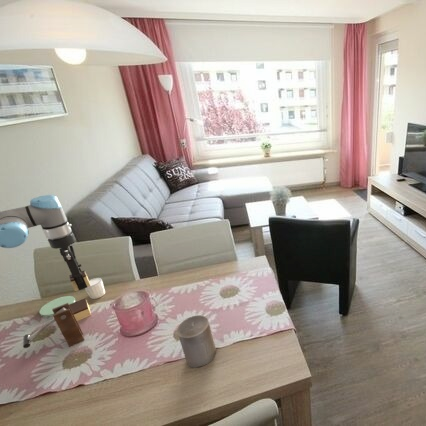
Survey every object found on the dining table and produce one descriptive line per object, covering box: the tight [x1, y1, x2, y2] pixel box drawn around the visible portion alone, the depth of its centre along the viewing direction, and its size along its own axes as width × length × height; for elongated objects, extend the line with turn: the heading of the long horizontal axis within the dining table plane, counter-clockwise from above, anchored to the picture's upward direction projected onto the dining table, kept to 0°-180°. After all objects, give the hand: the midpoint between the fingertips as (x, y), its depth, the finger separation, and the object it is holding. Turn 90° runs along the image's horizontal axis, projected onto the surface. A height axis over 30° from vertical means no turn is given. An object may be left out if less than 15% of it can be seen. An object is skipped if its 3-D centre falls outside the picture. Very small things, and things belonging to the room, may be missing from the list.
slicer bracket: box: [52, 303, 85, 348], centre depth 105 cm, size 10×8×16 cm
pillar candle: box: [176, 314, 217, 368], centre depth 98 cm, size 10×10×15 cm
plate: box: [39, 295, 77, 318], centre depth 127 cm, size 12×12×1 cm
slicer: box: [22, 307, 66, 349], centre depth 100 cm, size 14×6×2 cm, turn 132°
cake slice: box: [69, 270, 90, 292], centre depth 119 cm, size 5×5×5 cm
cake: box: [69, 298, 92, 322], centre depth 119 cm, size 8×8×5 cm
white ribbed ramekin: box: [84, 277, 106, 300], centre depth 132 cm, size 7×7×7 cm
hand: (82, 285), depth 120 cm, fingers closed on cake slice, 5 cm apart
